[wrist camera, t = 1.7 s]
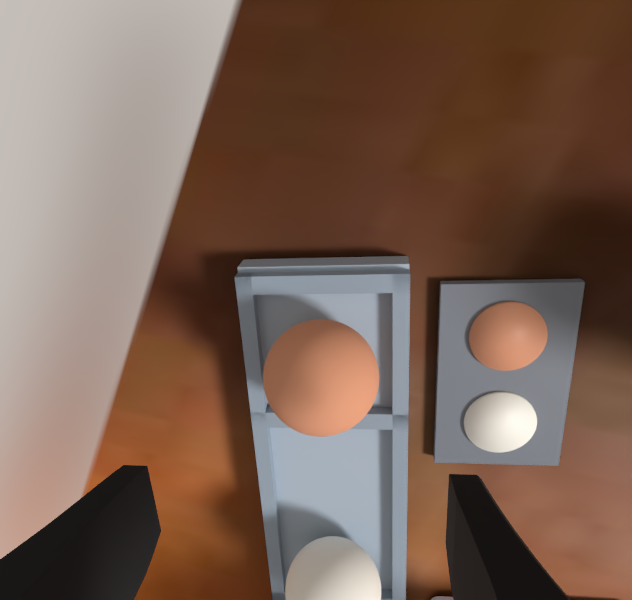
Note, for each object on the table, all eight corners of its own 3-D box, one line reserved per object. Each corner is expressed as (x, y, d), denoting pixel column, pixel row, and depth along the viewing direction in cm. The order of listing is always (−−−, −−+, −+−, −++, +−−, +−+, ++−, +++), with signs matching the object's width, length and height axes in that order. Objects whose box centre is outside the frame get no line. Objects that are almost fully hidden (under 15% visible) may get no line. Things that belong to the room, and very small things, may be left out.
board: (407, 255, 19) (410, 268, 17) (403, 632, 26) (405, 662, 25) (243, 259, 19) (233, 271, 18) (283, 624, 27) (278, 653, 25)
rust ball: (378, 301, 18) (379, 351, 15) (379, 396, 20) (380, 463, 16) (270, 302, 19) (245, 351, 15) (278, 395, 20) (257, 460, 17)
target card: (581, 278, 18) (586, 283, 18) (555, 459, 21) (559, 468, 21) (439, 280, 19) (441, 285, 18) (433, 456, 22) (435, 464, 21)
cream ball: (380, 516, 22) (381, 601, 18) (381, 584, 24) (382, 674, 20) (289, 513, 23) (273, 594, 19) (295, 579, 24) (281, 666, 20)
